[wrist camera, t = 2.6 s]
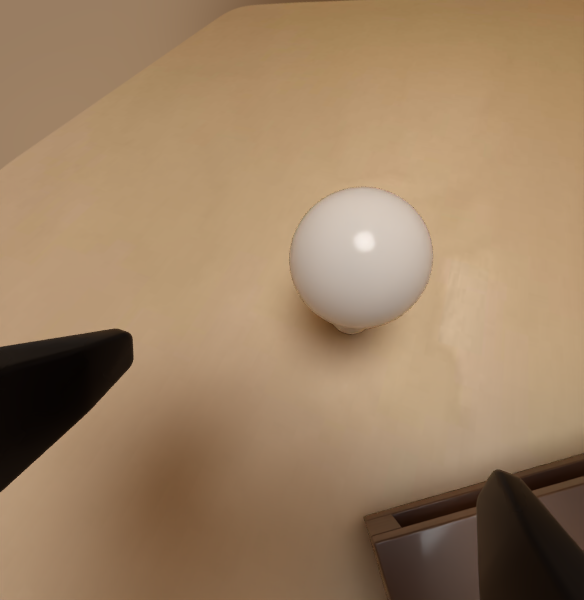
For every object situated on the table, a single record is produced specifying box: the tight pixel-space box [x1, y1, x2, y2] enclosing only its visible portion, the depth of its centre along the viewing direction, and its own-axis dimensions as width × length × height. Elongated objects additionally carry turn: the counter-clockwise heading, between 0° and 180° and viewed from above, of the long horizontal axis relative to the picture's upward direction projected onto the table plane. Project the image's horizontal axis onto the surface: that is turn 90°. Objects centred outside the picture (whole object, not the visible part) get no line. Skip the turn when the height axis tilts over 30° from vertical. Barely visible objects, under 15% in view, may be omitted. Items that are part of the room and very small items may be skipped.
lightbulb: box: [289, 187, 433, 334], centre depth 17 cm, size 6×6×11 cm
